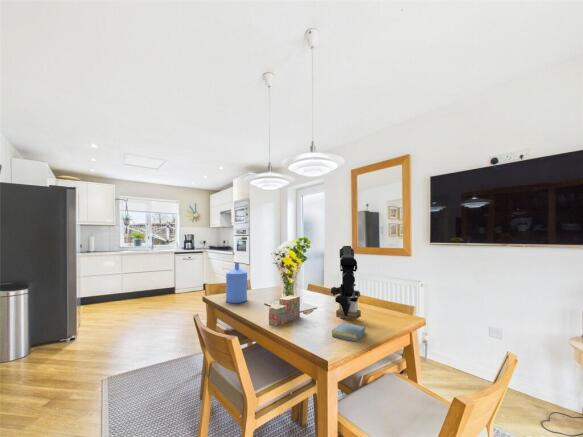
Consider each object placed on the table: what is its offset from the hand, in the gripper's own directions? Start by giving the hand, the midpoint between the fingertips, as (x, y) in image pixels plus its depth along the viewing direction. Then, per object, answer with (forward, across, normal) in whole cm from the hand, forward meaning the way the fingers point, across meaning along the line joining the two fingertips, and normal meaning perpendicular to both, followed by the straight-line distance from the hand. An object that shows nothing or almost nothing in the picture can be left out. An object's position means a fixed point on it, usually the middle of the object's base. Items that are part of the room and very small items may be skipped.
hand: (348, 314), depth 131 cm
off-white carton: (-2, 0, +2) cm, 3 cm away
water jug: (+10, -19, -95) cm, 97 cm away
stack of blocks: (+10, -1, -39) cm, 40 cm away
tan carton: (-2, 0, -2) cm, 3 cm away
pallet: (+1, 0, 0) cm, 1 cm away
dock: (+10, 0, 0) cm, 10 cm away
